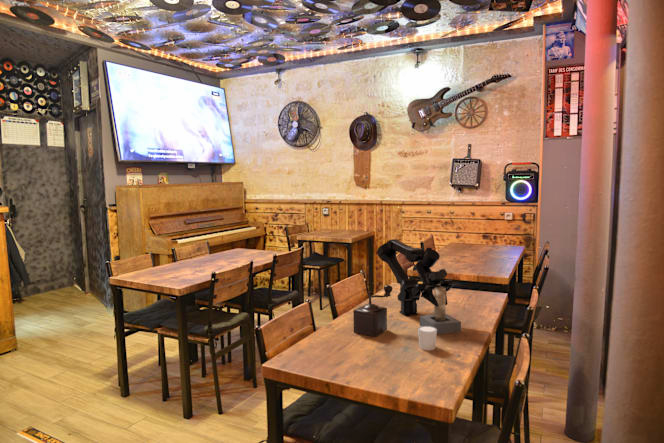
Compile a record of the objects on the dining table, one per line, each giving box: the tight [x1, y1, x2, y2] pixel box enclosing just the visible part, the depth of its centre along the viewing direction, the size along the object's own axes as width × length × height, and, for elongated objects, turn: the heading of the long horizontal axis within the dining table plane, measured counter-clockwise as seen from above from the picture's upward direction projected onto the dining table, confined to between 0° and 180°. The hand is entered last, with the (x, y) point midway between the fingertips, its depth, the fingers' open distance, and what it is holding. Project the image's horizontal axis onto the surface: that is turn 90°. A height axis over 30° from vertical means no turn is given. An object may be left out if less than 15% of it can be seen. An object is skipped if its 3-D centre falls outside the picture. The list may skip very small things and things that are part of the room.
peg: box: [433, 287, 447, 322], centre depth 174 cm, size 4×4×14 cm
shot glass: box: [417, 326, 437, 351], centre depth 154 cm, size 7×7×7 cm
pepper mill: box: [352, 284, 393, 338], centre depth 174 cm, size 16×11×18 cm
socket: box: [419, 313, 462, 336], centre depth 174 cm, size 12×12×4 cm
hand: (442, 305), depth 172 cm, fingers closed on peg, 4 cm apart
